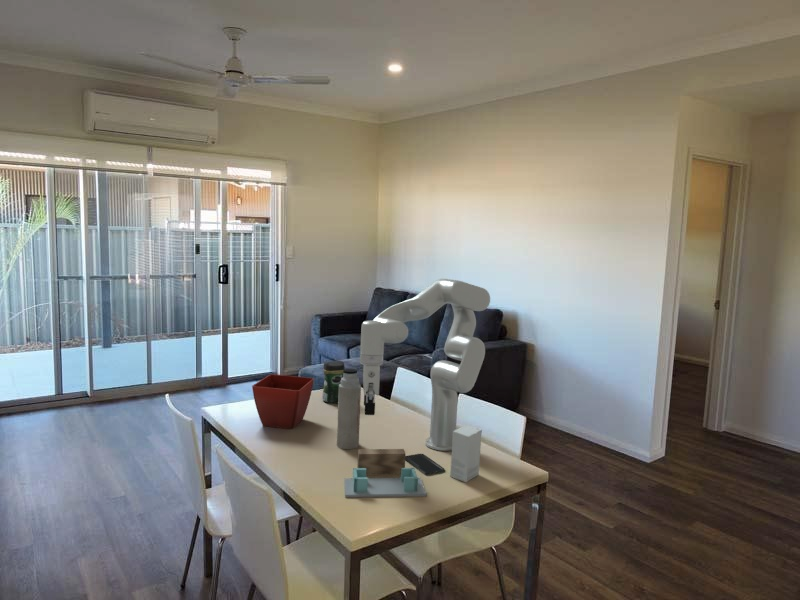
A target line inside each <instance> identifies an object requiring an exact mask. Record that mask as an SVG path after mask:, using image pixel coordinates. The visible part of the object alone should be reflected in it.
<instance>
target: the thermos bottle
mask: <svg viewBox="0 0 800 600" xmlns="http://www.w3.org/2000/svg"><path fill="white" fill-rule="evenodd" d="M343 372H344V374H343V378H341V381H340V382H341V384H339V393H338V402H337V429H336V431H337V432H336V446H337V448H339V449H344V450H353V449H357V448H359V445H360V444H359V443H360V422H361V421H360V419H361V399H362V398H361V397H362V395H361V394H362V393H361V392H362V385H361V384H360V379H359V378H360V377H358V373H357V372H358V370H357V369H355V368H345V369H344V370H343Z"/></svg>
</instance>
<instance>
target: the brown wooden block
mask: <svg viewBox="0 0 800 600" xmlns="http://www.w3.org/2000/svg"><path fill="white" fill-rule="evenodd" d="M405 456H406V451H405V449H404V448H371V449H369V448H367V449H365V448H364V449H363V448H361V449H359V448H358V449H357V467H356V468H366V476H368V475H374V476H375V475H401V468H406V461H405Z"/></svg>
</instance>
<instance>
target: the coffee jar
mask: <svg viewBox="0 0 800 600" xmlns="http://www.w3.org/2000/svg"><path fill="white" fill-rule="evenodd" d="M344 369H346V368H345V363H344V361H343V360H330V361H329V360H328V361H327V360H326V361H324V363H323V368H322V370H323V374H324V380H323V381H324V382H323V389H322V390H323V391H322V401H323V402H325V403H329V404H331V403H332V404H333V403H334V404H336V403H338V393H339V384H341V382H340V381H341V378H343V375H344V372H343V370H344Z"/></svg>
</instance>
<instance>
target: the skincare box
mask: <svg viewBox="0 0 800 600" xmlns="http://www.w3.org/2000/svg"><path fill="white" fill-rule="evenodd" d="M482 432H483V430H482V429H481V428H478V427H474V426H471V425H467V424H465V425H463V426H461V427H459V428H456V430H455V431H453V441H452V450H451V456H450V457H451V459H450V473H449V474H450V475H449V476H450V478H453V479H455V480H458V481H461V482H464V483H468V482H469V481H470V480H473V479H474V478H476V477H478V476H479V475H480V474H479V473H480V459H481V446H482V435H483V434H482Z"/></svg>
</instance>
